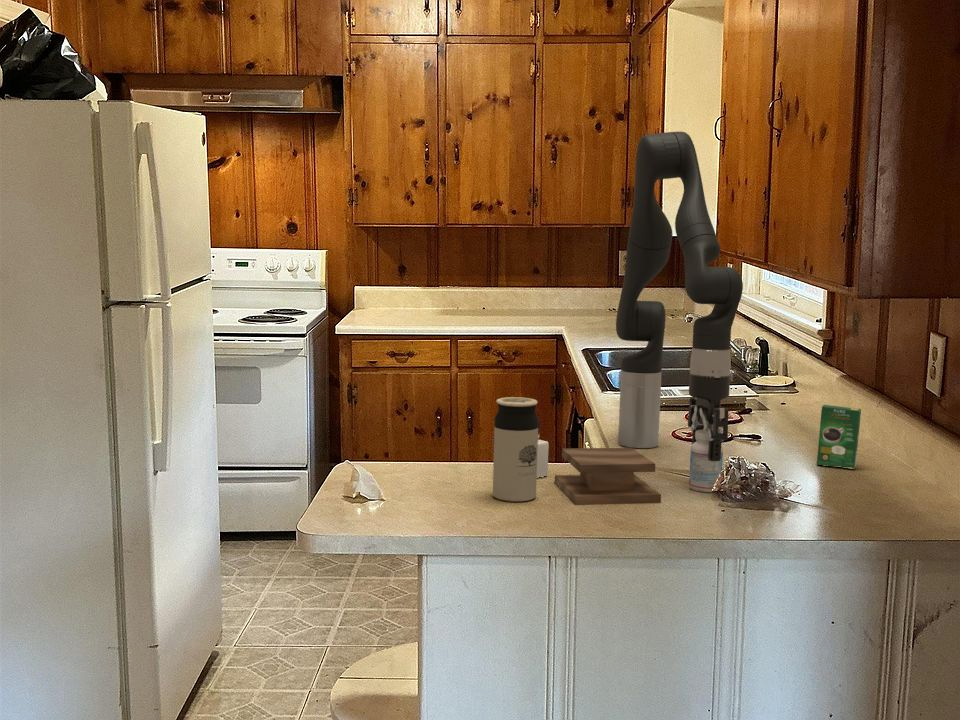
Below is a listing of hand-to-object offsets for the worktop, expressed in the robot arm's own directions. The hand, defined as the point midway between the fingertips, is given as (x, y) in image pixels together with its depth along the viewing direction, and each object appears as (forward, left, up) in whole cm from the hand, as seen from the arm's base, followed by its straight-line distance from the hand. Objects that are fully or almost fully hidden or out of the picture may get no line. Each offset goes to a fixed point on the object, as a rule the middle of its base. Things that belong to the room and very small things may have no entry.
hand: (705, 456), depth 199 cm
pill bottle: (0, 0, -7) cm, 7 cm away
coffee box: (-16, +36, -7) cm, 40 cm away
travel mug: (+3, -38, -7) cm, 38 cm away
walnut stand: (+1, -20, -7) cm, 21 cm away
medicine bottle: (-13, -33, -7) cm, 36 cm away
